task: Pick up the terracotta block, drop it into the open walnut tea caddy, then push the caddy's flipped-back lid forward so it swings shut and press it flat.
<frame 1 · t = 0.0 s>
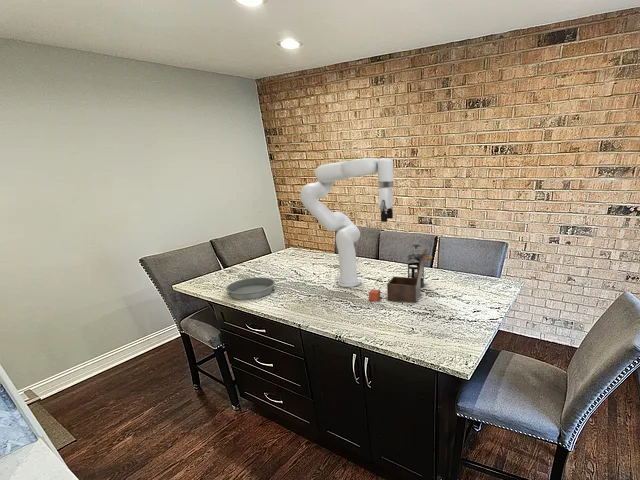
hand: (387, 220, 174), 37 cm above the worktop, tool pointing down, fingers open, 9 cm apart
caddy: (404, 297, 173), on the worktop
french press: (416, 285, 190), on the worktop
lid: (424, 267, 164), point 17 cm above the worktop, hinge at 100.0°
block: (374, 299, 172), on the worktop
cake pan: (252, 292, 184), on the worktop
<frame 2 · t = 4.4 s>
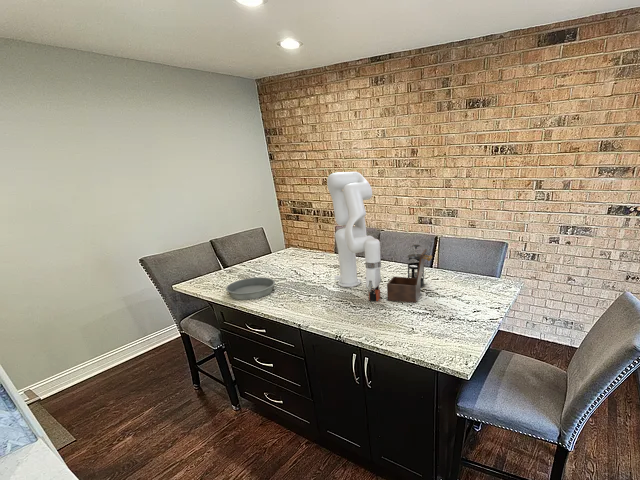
hand: (374, 298, 171), 0 cm above the worktop, tool pointing down, fingers closed on block, 4 cm apart
block: (374, 299, 172), on the worktop, touching gripper
everything else where it was.
when the fingers open (8 cm above the worktop, at t = 10.2 s): block stays where it is, resting on caddy.
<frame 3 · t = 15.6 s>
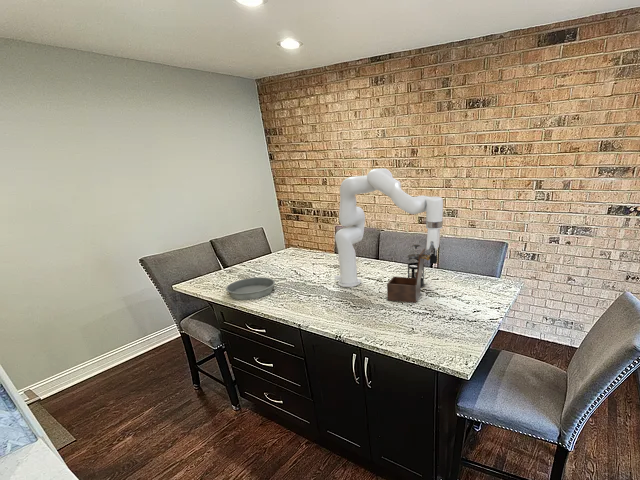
hand: (433, 263, 162), 19 cm above the worktop, tool pointing down, fingers closed
lid: (424, 267, 164), point 17 cm above the worktop, hinge at 97.4°, touching gripper
block: (402, 295, 173), point 1 cm above the worktop, touching caddy
everything else where it was.
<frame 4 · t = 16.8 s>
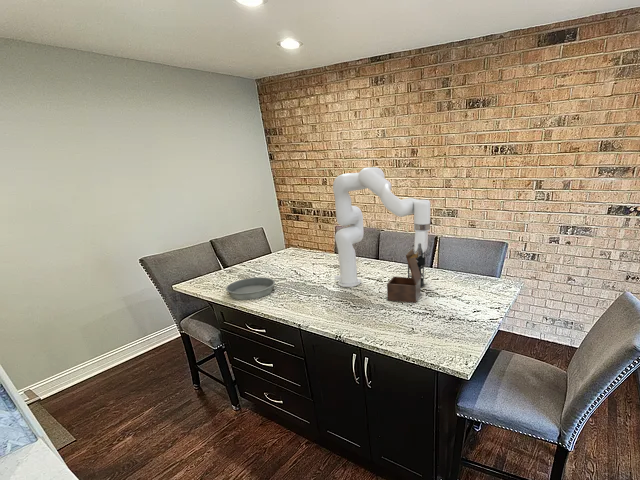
hand: (421, 264, 164), 18 cm above the worktop, tool pointing down, fingers closed
lid: (417, 266, 165), point 17 cm above the worktop, hinge at 72.9°, touching gripper
everything else where it was.
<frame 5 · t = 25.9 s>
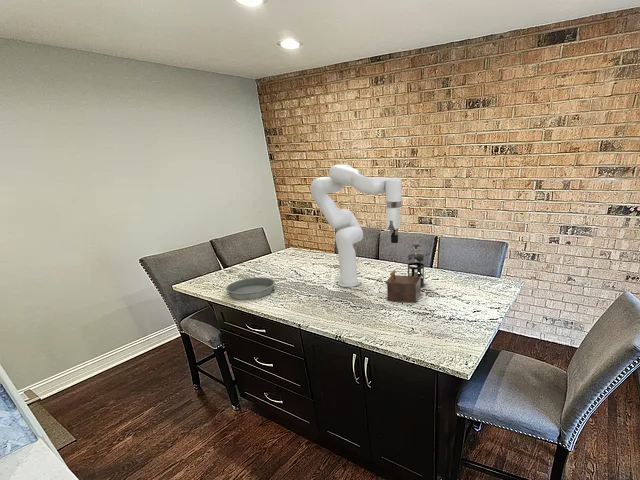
hand: (394, 242, 169), 27 cm above the worktop, tool pointing down, fingers closed
lid: (403, 276, 169), point 11 cm above the worktop, hinge at -0.2°
everything else where it was.
at the end: block inside the target area in the caddy (1.0 cm from its centre), point 0.8 cm above the caddy's base; lid at +0° (first picture: +100°) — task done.
